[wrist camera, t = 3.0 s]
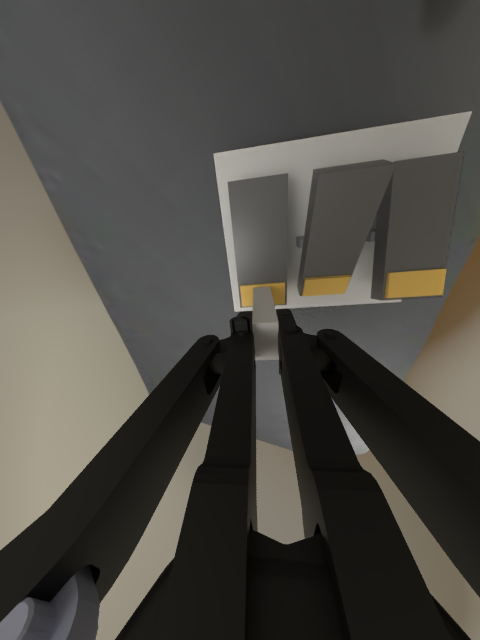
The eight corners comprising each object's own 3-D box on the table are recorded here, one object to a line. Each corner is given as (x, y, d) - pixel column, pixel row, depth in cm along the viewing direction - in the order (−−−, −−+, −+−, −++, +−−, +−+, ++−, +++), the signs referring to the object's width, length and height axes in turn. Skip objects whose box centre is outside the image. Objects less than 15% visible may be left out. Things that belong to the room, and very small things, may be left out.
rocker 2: (313, 169, 12) (320, 175, 11) (383, 159, 12) (398, 164, 11) (296, 286, 20) (300, 298, 18) (339, 283, 19) (345, 295, 18)
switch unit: (222, 166, 19) (208, 146, 14) (418, 136, 17) (503, 96, 11) (238, 297, 27) (233, 321, 21) (375, 288, 25) (412, 312, 19)
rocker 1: (230, 186, 15) (226, 180, 13) (285, 179, 14) (288, 171, 13) (241, 302, 19) (240, 308, 17) (284, 299, 19) (287, 306, 17)
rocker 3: (380, 173, 15) (397, 158, 13) (441, 165, 14) (469, 148, 12) (370, 298, 17) (384, 300, 15) (423, 295, 16) (445, 297, 14)
